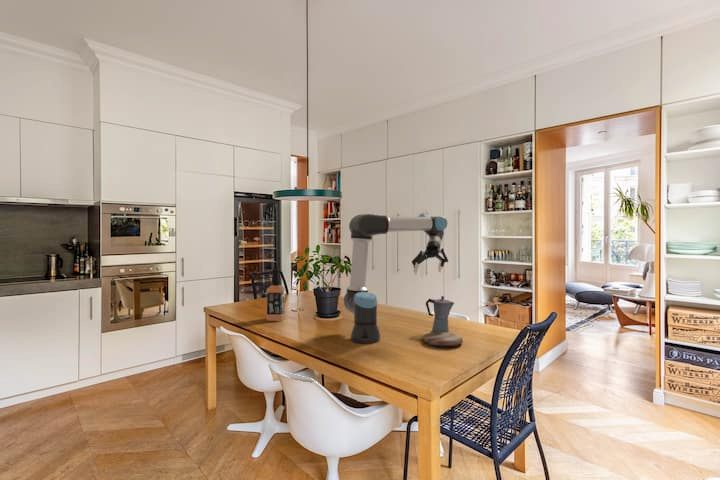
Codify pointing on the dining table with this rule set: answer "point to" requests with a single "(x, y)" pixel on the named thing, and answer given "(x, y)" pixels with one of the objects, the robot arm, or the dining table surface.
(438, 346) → the turntable base
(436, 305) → the moka pot
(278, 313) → the whiskey bottle
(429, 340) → the disc
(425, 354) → the dining table surface
